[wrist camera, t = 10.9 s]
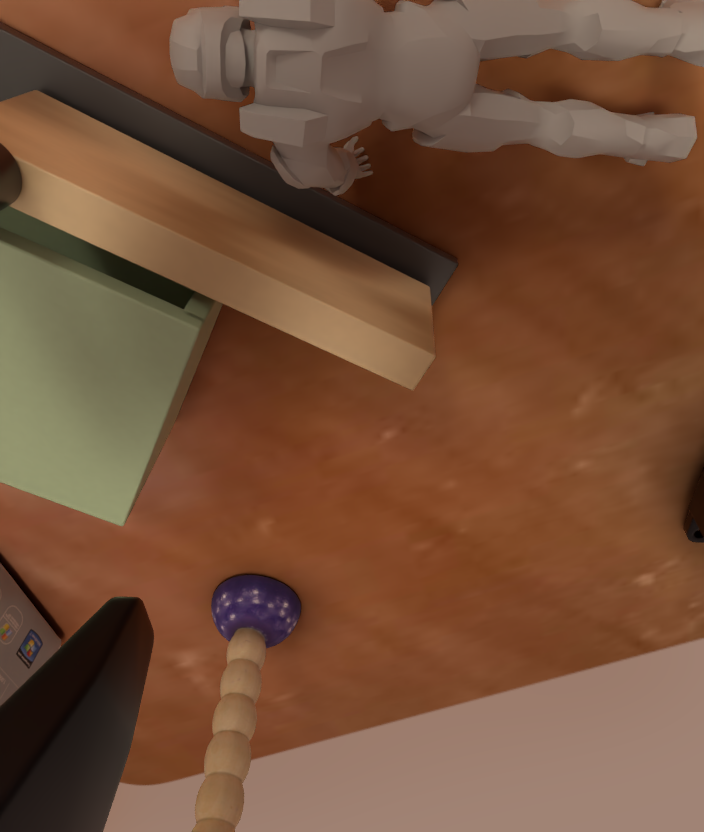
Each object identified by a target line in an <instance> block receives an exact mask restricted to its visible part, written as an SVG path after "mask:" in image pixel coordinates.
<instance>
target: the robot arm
mask: <svg viewBox="0 0 704 832" xmlns="http://www.w3.org/2000/svg"><path fill="white" fill-rule="evenodd" d="M689 510H690V512H689V514H688V517H687V519H686V522H685V524H684V531H685V533H686V535H687V537H688V539H689V540H690V541H692V542H701V543H704V469H703V471H702V474H701V477H700V479H699V482H698V484H697V487H696V489H695V492H694V495H693V497H692V500H691V502H690V505H689ZM153 642H154V633H153V628H152V625H151V623H150V620H149V617H148V614H147V611H146V609H145V606H144V603H143V601H142V600H141V599H140V598H138V597H114V598H112V599H110V600H109V601H108V602H106V603H105V604H104V605H103V606H102V607H101V608H100V609H99V610H98V611H97V612H96V613H95V614H94V615H93V616H92V617H91V618H90V619H89V620H88V621H87V622H86V623H85V624H84V625H83V626H82V627H81V628H80V629H79V630H78V631H77V632H76V633H75V634H74V635H73V636H72V637H71V638H70V639H69V640H68V641H67V642H65V643H64V644H63V645H62V646H61V647H60V648H59V649H58V650H57V651H56V652H55V653H54V654H53V655H52V656H51V657H50V658H49V659H48V660H47V661H46V662H45V663H44V664H43V665H42V666H41V667H40V668H39V669H38V670H37V671H36V672H35V673H34V674H33V675H32V676H31V677H30V678H29V679H28V680H27V681H26V682H25V683H24V684H23V685H22V686H20V687H19V688H18V689H17V690H16V691H15V692H14V693H13V694H12V695H11V696H10V697H9V698H8V699H7V700H6V701H5V702H4V703H3V704H2V705H1V706H0V832H103V830H104V827H105V824H106V821H107V818H108V815H109V812H110V809H111V806H112V802H113V800H114V797H115V794H116V791H117V788H118V785H119V782H120V779H121V776H122V773H123V770H124V767H125V764H126V760H127V757H128V754H129V750H130V747H131V743H132V739H133V735H134V730H135V726H136V721H137V717H138V712H139V708H140V703H141V699H142V694H143V689H144V685H145V680H146V676H147V671H148V667H149V662H150V658H151V653H152V648H153Z"/></svg>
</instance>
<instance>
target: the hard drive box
mask: <svg viewBox="0 0 704 832" xmlns="http://www.w3.org/2000/svg"><path fill="white" fill-rule="evenodd" d="M60 647H61V639H60V638H59V637H58V636H57V635H56V633H55V632H54V631H53V629H52V628H51V627H50V625H49V624H48V623H47V622H46V620H45V619H44V618H43V617H42V616H41V614H40V613H39V612H38V611H37V609H36V608H35V606H34V605H33V604H32V603H31V601H30V600H29V599H28V598H27V596H26V595H25V594H24V593H23V591H22V590H21V589H20V587H19V586H18V585H17V583H16V582H15V581H14V580H13V578H12V577H11V576H10V575H9V573H8V572H7V571H6V569H5V568H4V567H3V566H2V564H1V563H0V706H1V705H2V704H3V703H4V702H5V701H6V700H7V699H8V698H9V697H10V696H11V695H12V694H13V693H14V692H15V691H16V690H17V689H18V688H19V687H20V686H22V685H23V684H24V683H25V682H26V681H27V680H28V679H29V678H30V677H31V676H32V675H33V674H34V673H35V672H36V671H37V670H38V669H39V668H40V667H41V666H42V665H43V664H44V663H45V662H46V661H47V660H48V659H49V658H50V657H51V656H52V655H53V654H54V653H55V652H56V651H57V650H58V649H59V648H60Z"/></svg>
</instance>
